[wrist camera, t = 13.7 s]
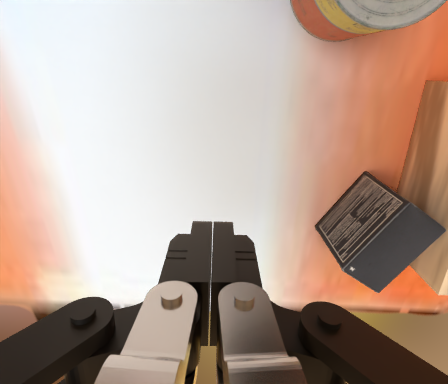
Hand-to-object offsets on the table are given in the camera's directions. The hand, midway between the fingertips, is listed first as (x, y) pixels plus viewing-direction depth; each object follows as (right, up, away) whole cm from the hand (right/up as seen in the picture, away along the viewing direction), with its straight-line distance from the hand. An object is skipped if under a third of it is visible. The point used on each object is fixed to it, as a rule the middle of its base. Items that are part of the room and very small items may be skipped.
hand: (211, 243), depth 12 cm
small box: (+19, -1, +32) cm, 37 cm away
